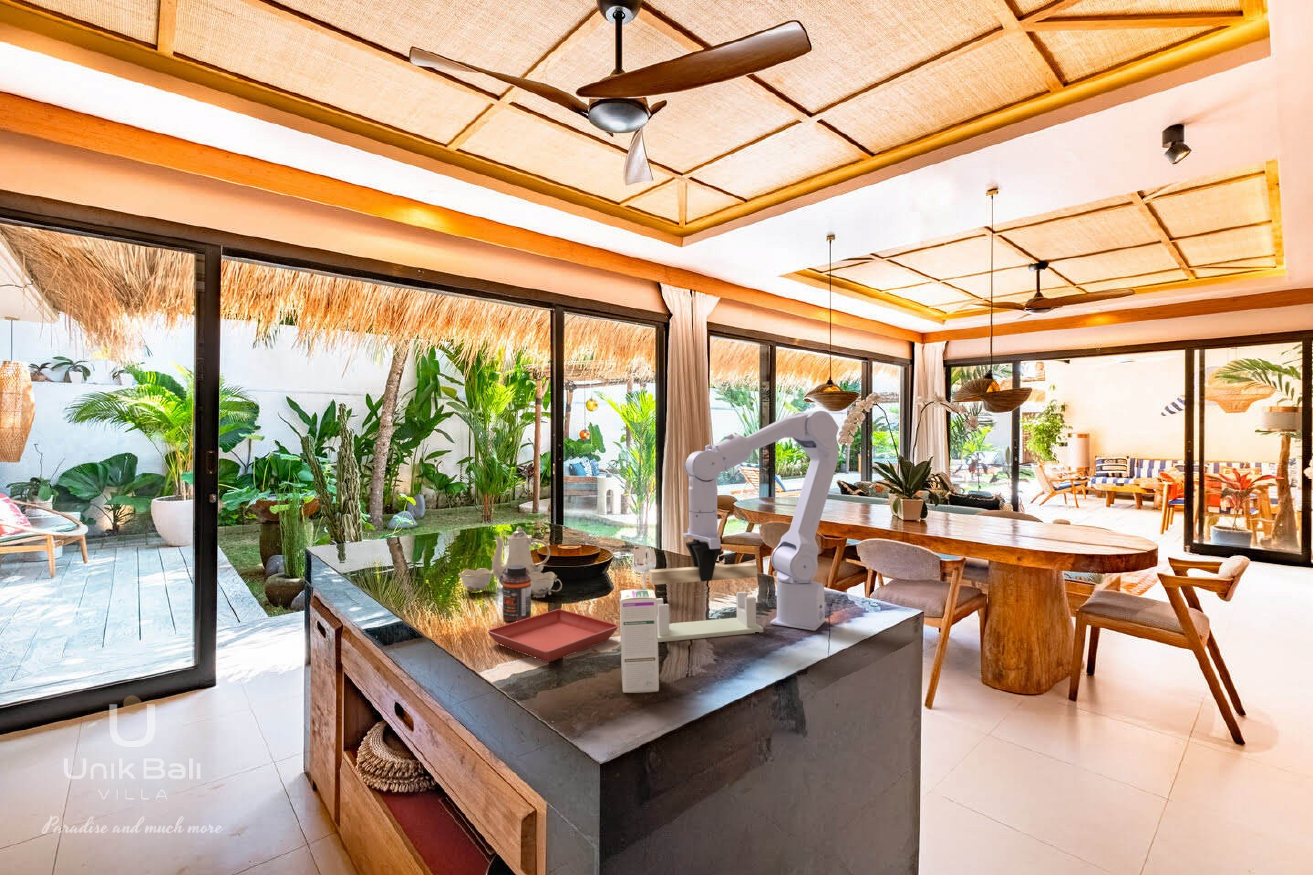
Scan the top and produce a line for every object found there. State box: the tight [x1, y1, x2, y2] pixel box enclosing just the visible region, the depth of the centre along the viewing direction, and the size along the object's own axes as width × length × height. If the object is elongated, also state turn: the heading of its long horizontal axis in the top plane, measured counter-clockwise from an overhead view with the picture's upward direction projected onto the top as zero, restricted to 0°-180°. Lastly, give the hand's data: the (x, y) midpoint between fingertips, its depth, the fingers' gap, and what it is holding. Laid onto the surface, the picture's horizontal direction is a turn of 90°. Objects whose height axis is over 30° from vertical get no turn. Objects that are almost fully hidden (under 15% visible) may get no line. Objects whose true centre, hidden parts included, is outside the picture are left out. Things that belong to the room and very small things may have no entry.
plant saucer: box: [487, 608, 619, 663], centre depth 117 cm, size 18×18×3 cm
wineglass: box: [631, 545, 657, 589], centre depth 149 cm, size 6×6×12 cm
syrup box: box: [619, 588, 660, 694], centre depth 96 cm, size 6×6×14 cm
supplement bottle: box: [502, 565, 532, 622], centre depth 132 cm, size 6×6×11 cm
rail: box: [648, 562, 758, 586], centre depth 123 cm, size 22×2×2 cm, turn 104°
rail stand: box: [656, 591, 764, 643], centre depth 123 cm, size 22×8×6 cm, turn 104°
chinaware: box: [457, 525, 563, 599], centre depth 156 cm, size 28×17×17 cm, turn 80°
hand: (703, 578), depth 123 cm, fingers closed on rail, 2 cm apart
